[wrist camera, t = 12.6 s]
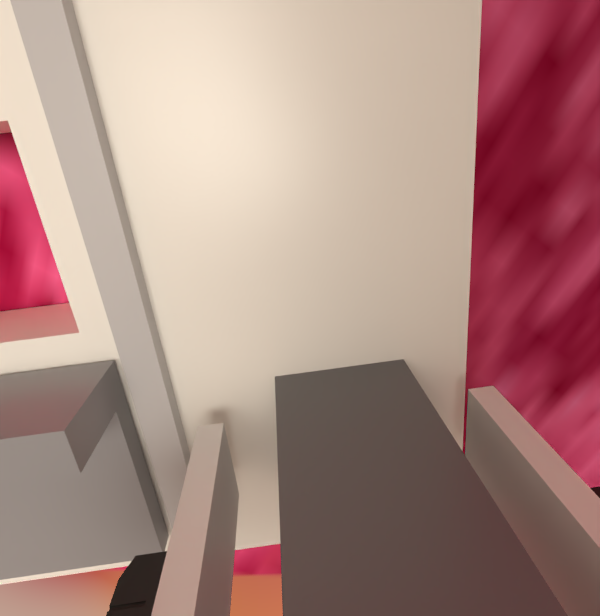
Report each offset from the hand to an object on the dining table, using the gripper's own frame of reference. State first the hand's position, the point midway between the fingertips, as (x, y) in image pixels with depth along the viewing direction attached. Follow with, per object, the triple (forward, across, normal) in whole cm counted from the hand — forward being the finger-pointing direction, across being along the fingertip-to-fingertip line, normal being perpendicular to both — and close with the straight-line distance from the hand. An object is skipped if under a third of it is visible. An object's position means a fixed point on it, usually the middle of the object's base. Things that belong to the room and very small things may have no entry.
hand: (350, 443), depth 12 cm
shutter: (+1, -10, 0) cm, 10 cm away
